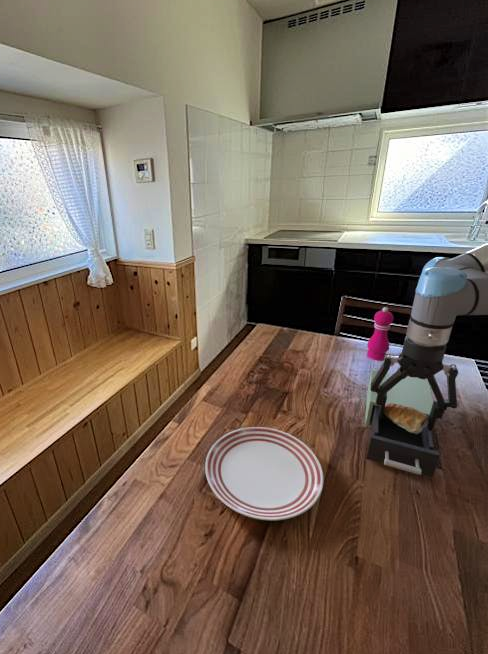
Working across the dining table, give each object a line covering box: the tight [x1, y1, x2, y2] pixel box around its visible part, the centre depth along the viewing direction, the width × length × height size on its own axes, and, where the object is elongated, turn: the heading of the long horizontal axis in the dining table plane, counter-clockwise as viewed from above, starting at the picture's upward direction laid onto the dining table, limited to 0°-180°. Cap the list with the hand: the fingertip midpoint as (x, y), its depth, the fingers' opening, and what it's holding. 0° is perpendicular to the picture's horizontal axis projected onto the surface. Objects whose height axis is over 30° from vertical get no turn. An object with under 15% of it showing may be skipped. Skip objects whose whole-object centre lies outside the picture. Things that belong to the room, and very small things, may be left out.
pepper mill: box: [366, 306, 394, 361], centre depth 123 cm, size 7×7×20 cm
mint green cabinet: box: [364, 369, 434, 433], centre depth 96 cm, size 17×15×9 cm
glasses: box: [245, 354, 295, 393], centre depth 117 cm, size 13×13×5 cm
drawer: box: [365, 405, 441, 479], centre depth 83 cm, size 20×14×7 cm
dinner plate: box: [204, 426, 324, 522], centre depth 81 cm, size 28×27×3 cm
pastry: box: [384, 403, 429, 434], centre depth 81 cm, size 9×7×4 cm
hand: (404, 420), depth 82 cm, fingers closed on pastry, 10 cm apart
